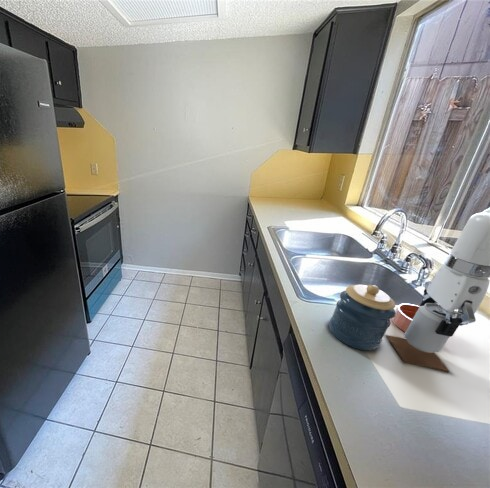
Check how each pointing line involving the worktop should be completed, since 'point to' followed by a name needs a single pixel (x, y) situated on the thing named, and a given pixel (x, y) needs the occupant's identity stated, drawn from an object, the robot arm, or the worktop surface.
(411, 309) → the bowl
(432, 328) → the can
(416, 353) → the mat
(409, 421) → the worktop surface
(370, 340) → the canister
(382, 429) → the worktop surface
